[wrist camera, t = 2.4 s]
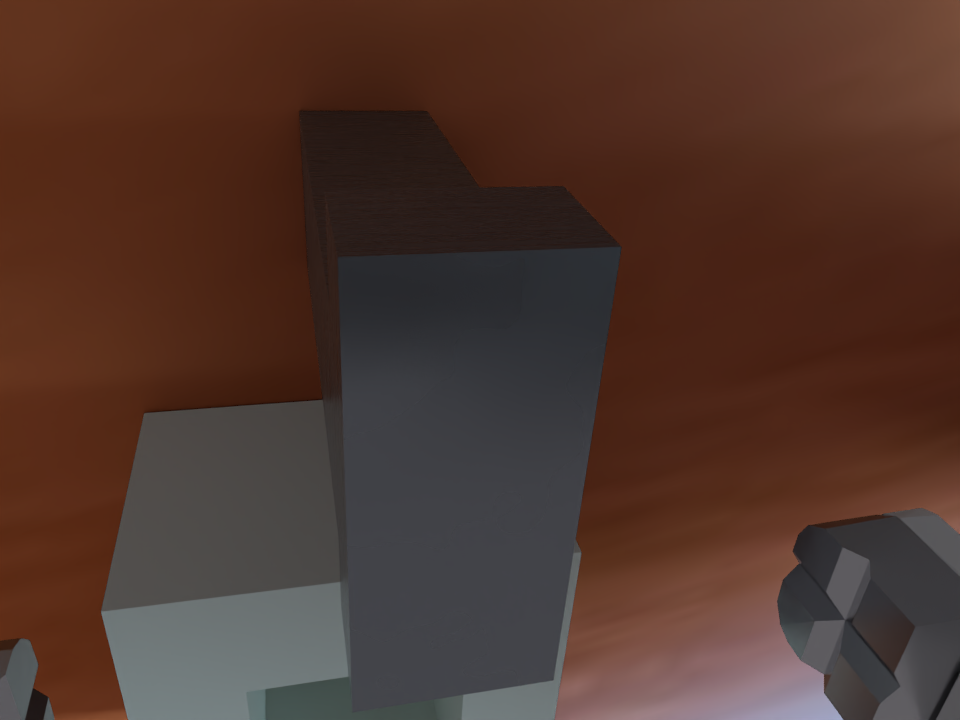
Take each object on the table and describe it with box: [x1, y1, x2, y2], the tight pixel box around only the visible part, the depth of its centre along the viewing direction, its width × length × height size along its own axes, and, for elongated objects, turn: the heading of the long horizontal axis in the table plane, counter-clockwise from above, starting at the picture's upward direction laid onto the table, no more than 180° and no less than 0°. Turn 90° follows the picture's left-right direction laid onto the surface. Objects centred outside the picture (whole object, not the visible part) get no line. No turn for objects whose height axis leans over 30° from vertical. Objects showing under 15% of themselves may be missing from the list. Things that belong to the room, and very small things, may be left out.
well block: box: [101, 400, 582, 720], centre depth 23 cm, size 10×12×7 cm
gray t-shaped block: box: [299, 111, 621, 712], centre depth 15 cm, size 3×7×12 cm, turn 177°
